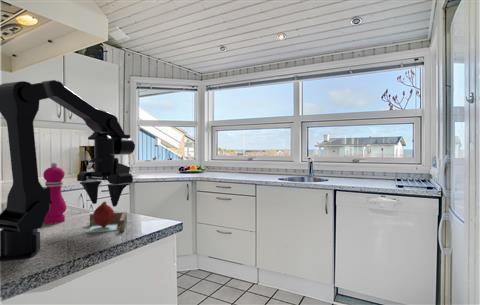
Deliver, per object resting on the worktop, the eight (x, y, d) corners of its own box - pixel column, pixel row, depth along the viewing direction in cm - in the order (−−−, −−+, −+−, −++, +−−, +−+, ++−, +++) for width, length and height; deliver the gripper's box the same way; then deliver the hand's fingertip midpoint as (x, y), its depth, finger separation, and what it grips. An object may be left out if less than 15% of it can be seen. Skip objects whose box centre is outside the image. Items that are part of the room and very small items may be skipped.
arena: (82, 235, 81) (82, 222, 81) (90, 224, 93) (90, 213, 93) (123, 231, 84) (124, 220, 84) (126, 222, 96) (126, 211, 96)
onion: (106, 230, 85) (106, 203, 85) (88, 229, 86) (88, 203, 86) (117, 225, 90) (117, 200, 90) (101, 224, 92) (101, 199, 91)
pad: (87, 232, 83) (87, 231, 83) (92, 226, 91) (92, 225, 91) (115, 230, 86) (115, 229, 86) (118, 224, 93) (118, 223, 93)
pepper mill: (68, 218, 101) (68, 162, 101) (63, 223, 94) (64, 162, 94) (44, 219, 98) (44, 162, 98) (38, 225, 92) (38, 163, 91)
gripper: (146, 155, 91) (146, 203, 91) (106, 154, 100) (106, 198, 100) (117, 155, 81) (117, 209, 81) (76, 154, 90) (76, 204, 90)
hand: (104, 205), depth 88 cm, fingers open, 9 cm apart
